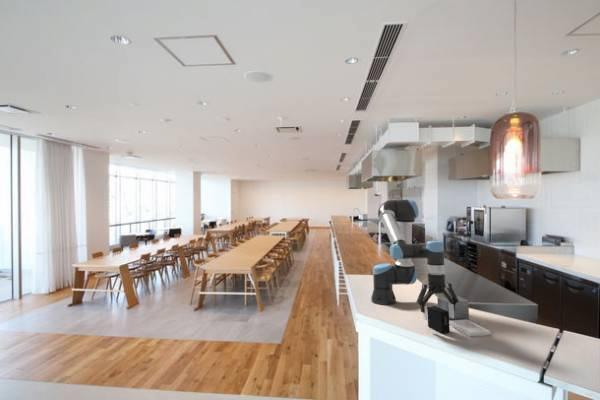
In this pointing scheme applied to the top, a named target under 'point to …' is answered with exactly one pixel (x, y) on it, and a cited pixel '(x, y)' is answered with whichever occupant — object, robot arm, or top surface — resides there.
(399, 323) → the top surface
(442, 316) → the electronic device
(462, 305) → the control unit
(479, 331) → the tray
